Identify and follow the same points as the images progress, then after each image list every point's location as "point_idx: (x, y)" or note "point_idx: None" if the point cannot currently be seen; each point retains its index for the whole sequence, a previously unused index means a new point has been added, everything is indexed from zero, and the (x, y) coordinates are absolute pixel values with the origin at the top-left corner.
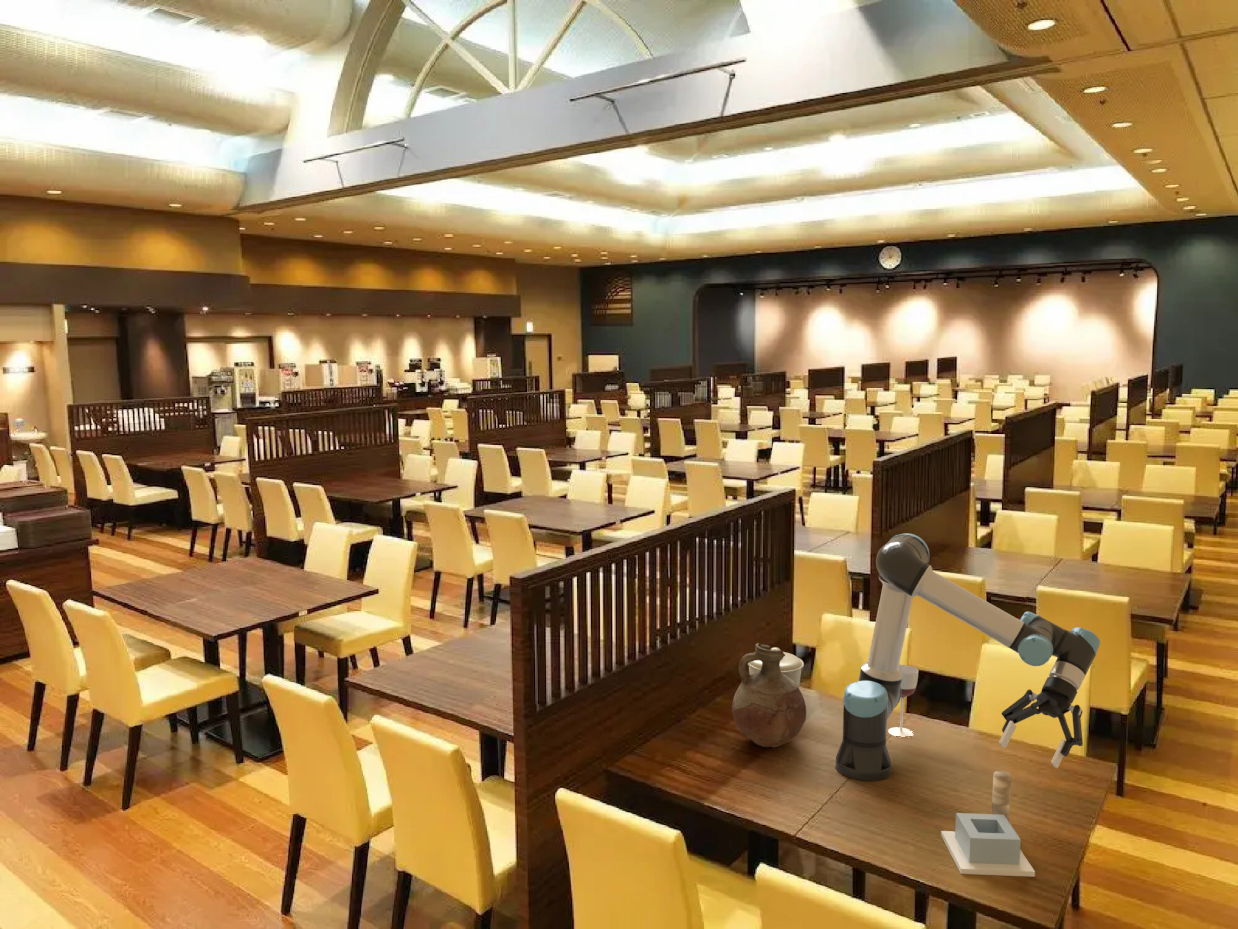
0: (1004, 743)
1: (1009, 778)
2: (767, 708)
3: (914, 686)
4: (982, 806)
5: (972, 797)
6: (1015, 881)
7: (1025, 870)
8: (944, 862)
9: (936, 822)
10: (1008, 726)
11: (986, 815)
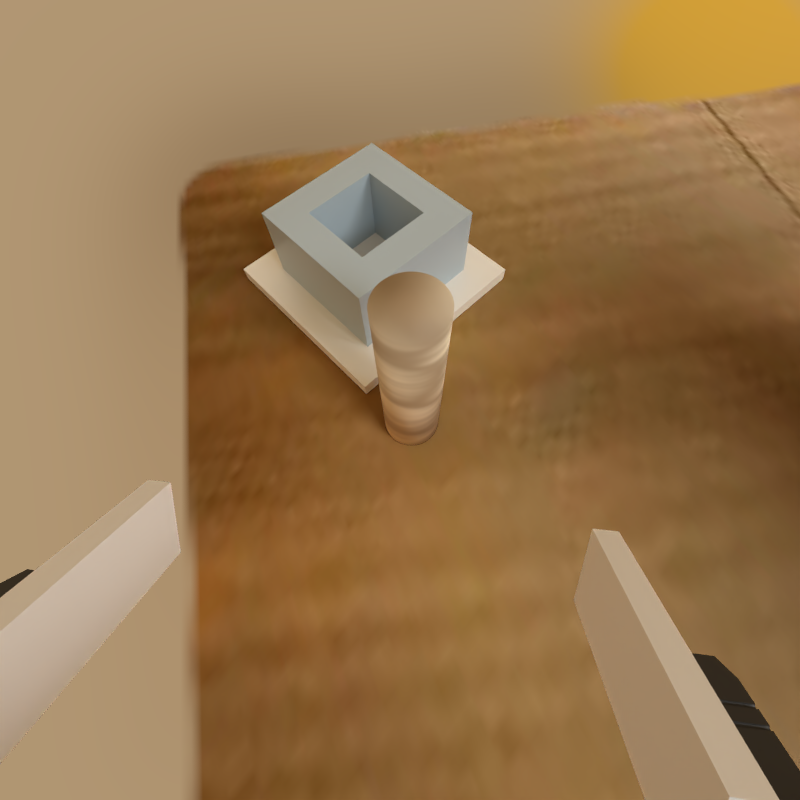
0: (591, 580)
1: (369, 299)
2: None
3: None
4: (531, 523)
5: None
6: None
7: (263, 259)
8: None
9: (555, 325)
10: (698, 695)
11: (398, 257)
